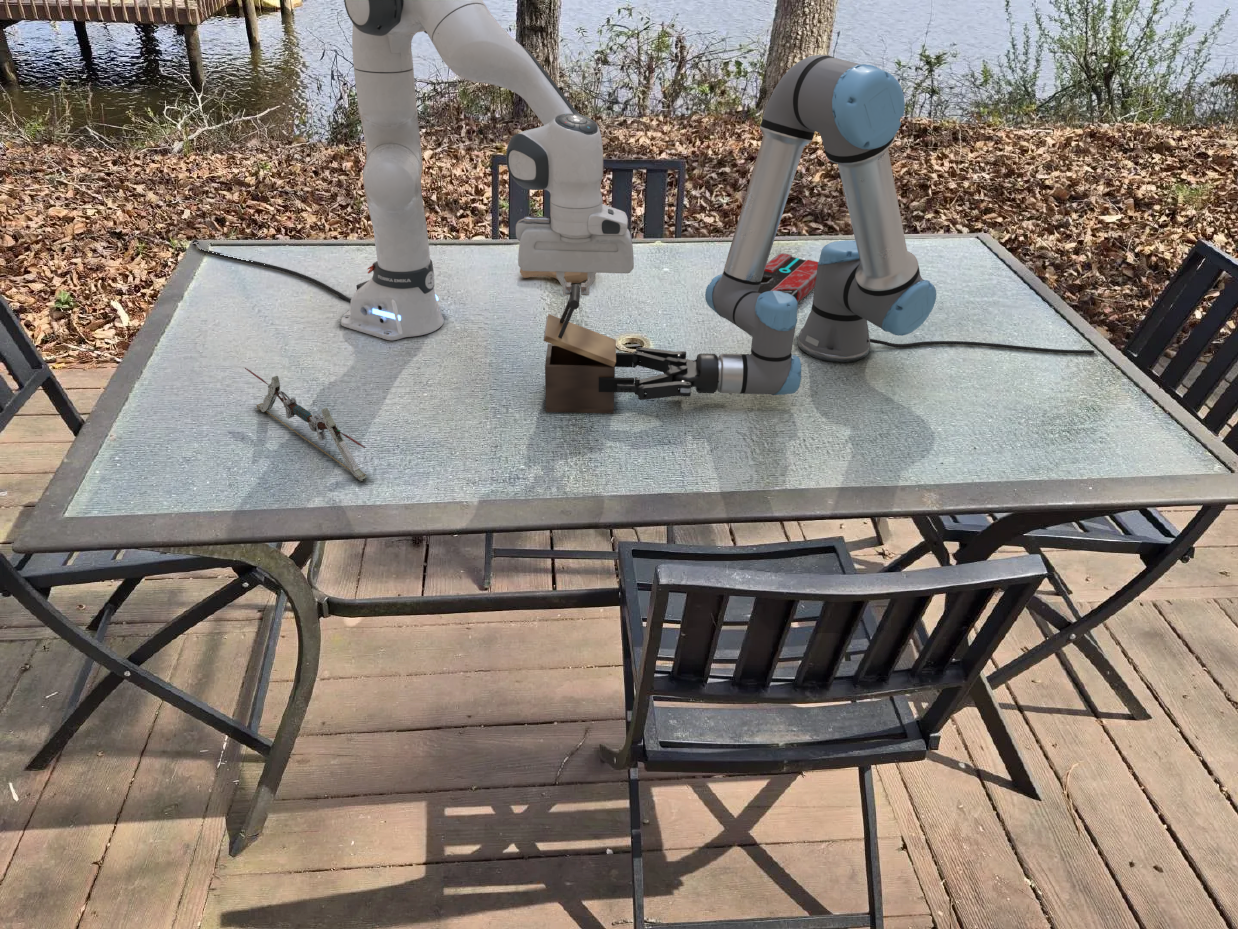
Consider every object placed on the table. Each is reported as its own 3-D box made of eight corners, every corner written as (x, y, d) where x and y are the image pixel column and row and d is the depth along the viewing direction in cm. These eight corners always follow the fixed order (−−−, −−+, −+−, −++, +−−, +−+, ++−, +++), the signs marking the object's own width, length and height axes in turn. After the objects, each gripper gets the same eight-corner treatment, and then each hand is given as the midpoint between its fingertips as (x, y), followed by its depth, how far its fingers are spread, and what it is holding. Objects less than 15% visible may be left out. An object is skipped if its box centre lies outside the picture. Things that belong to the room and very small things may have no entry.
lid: (543, 340, 157) (561, 297, 152) (546, 318, 164) (563, 276, 160) (613, 367, 160) (633, 325, 155) (613, 344, 167) (632, 303, 163)
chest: (545, 412, 165) (544, 366, 159) (548, 387, 173) (547, 343, 167) (613, 413, 165) (614, 367, 160) (613, 389, 173) (614, 344, 168)
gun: (708, 284, 207) (784, 305, 199) (760, 245, 229) (831, 262, 221) (706, 302, 209) (781, 323, 201) (758, 261, 231) (828, 278, 223)
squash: (601, 287, 216) (596, 255, 210) (521, 294, 218) (514, 262, 211) (602, 264, 224) (597, 232, 218) (524, 271, 225) (518, 240, 219)
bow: (377, 484, 144) (369, 432, 138) (368, 488, 143) (359, 436, 137) (258, 401, 165) (247, 353, 160) (249, 404, 164) (237, 356, 158)
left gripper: (513, 222, 146) (516, 299, 154) (635, 225, 146) (632, 302, 154) (516, 209, 151) (519, 285, 159) (635, 213, 152) (632, 288, 159)
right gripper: (721, 420, 159) (598, 418, 158) (710, 364, 177) (599, 362, 177) (725, 384, 155) (598, 382, 154) (713, 330, 173) (599, 328, 173)
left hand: (576, 293), depth 157 cm, fingers closed
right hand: (598, 371), depth 165 cm, fingers closed on chest, 9 cm apart
